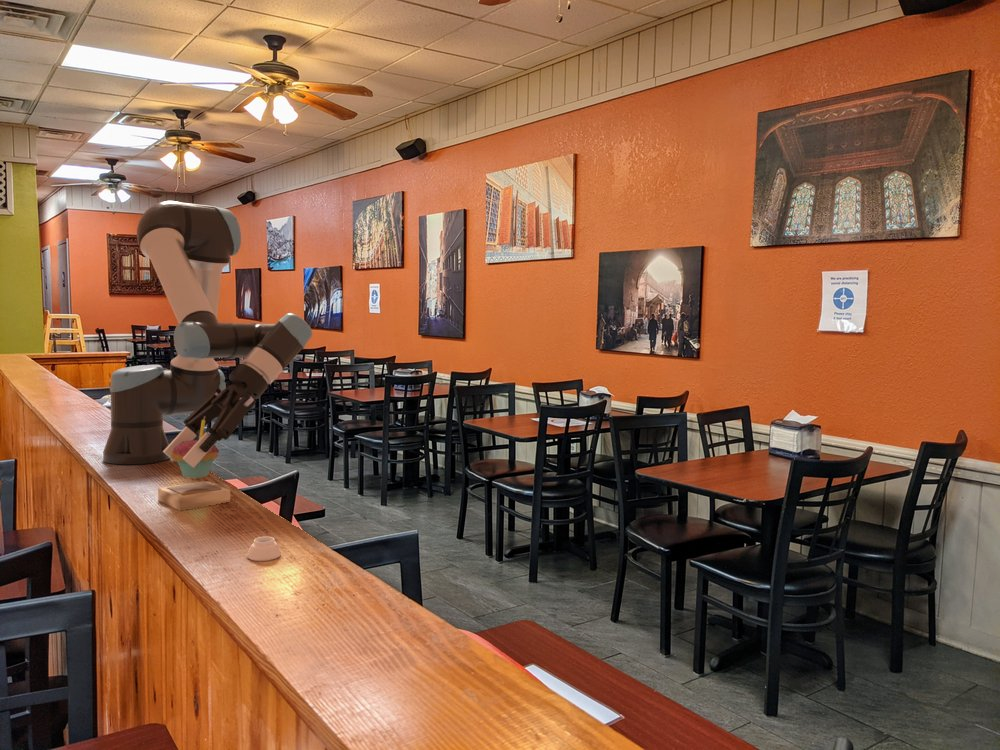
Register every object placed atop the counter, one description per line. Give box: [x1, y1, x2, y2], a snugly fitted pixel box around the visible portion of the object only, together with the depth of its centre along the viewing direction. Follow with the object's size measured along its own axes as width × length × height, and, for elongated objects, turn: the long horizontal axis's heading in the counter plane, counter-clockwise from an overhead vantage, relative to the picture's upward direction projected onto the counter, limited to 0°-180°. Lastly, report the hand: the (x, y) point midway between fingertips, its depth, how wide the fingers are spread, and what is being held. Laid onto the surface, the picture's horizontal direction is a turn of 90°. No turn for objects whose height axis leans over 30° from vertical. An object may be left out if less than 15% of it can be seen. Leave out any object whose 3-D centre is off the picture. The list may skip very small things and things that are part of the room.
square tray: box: [157, 480, 231, 512], centre depth 144 cm, size 10×10×3 cm
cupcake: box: [171, 416, 220, 479], centre depth 143 cm, size 9×8×12 cm
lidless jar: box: [246, 535, 282, 562], centre depth 113 cm, size 5×3×5 cm
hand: (178, 459), depth 141 cm, fingers closed on cupcake, 8 cm apart
